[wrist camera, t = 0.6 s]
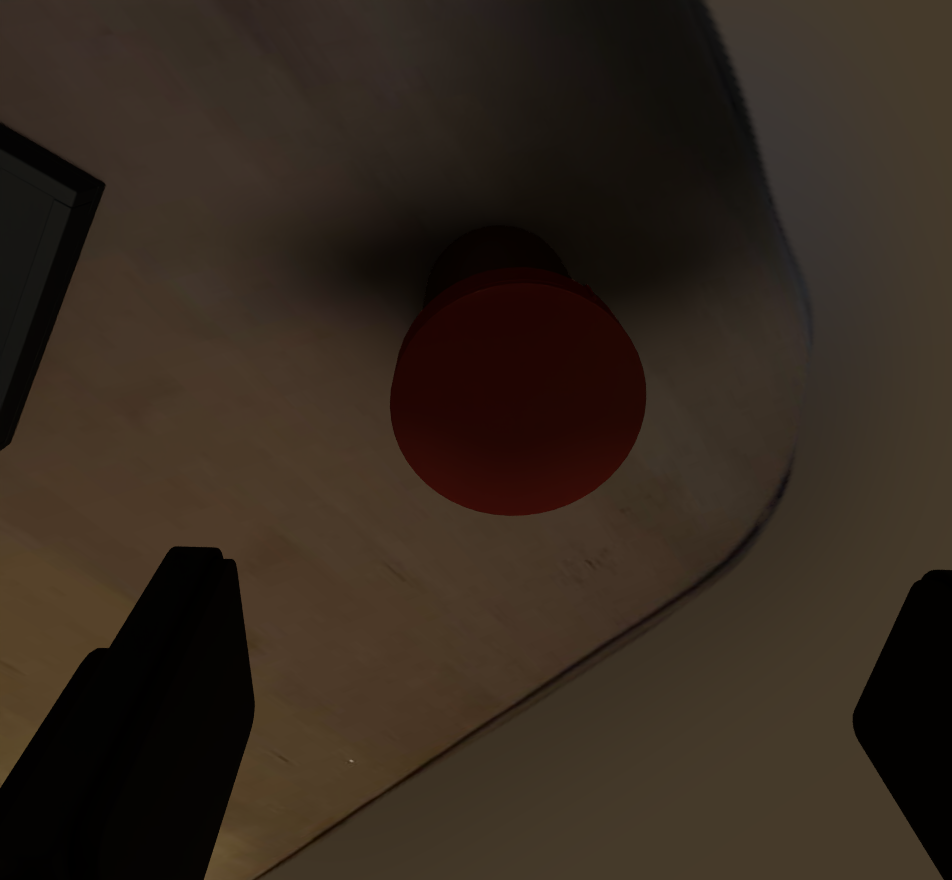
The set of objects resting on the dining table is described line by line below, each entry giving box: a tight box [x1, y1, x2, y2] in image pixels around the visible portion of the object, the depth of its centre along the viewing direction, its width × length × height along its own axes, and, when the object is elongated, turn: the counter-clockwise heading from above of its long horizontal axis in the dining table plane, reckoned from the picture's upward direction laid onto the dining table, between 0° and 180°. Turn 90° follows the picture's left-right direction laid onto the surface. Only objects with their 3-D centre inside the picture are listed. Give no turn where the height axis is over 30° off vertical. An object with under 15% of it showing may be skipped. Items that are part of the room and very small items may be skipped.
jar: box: [422, 225, 572, 310], centre depth 22 cm, size 6×6×9 cm
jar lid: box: [390, 267, 646, 516], centre depth 18 cm, size 7×6×2 cm
